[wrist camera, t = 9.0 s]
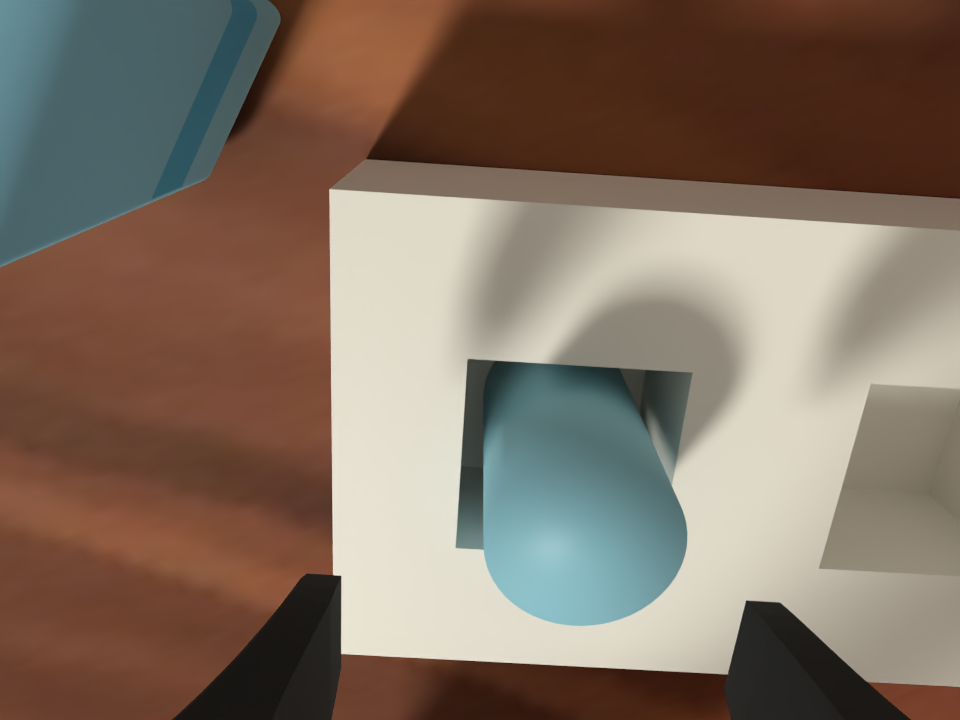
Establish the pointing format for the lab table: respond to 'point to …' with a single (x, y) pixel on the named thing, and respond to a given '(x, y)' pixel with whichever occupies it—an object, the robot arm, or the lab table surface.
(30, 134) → the data package
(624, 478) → the pin
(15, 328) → the lab table surface
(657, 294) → the hole board
